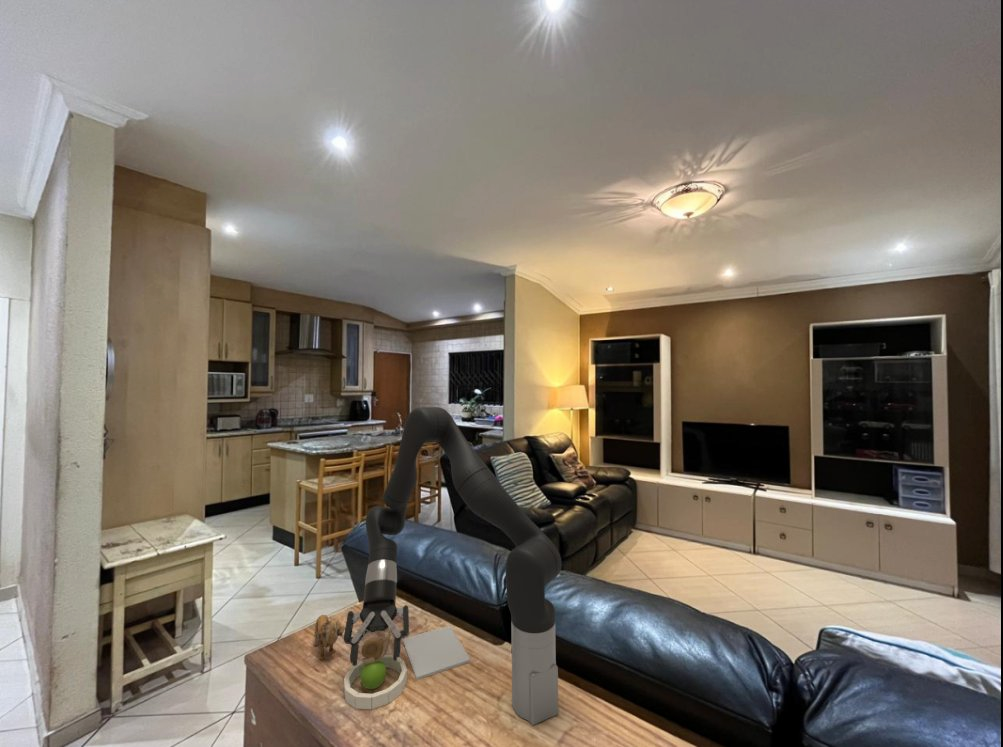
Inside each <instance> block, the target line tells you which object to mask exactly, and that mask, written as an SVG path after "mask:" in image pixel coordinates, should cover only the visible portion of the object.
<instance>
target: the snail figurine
mask: <svg viewBox="0 0 1003 747" xmlns="http://www.w3.org/2000/svg"><path fill="white" fill-rule="evenodd" d="M387 630H388V632H386V633H384V635H383V638H384V640H383V641H381V639H379V638H377V637H372V638H369V639H367V640H366V641H365V642H364V643H363V644H362V646H361V655H362V656H363V658H361V660H362V661H363V662H364V663H366V664H365V665H364V666H363V668H362V671H361V675H360V682H361V685H362V686H363V687H364V688H366V689H368V690H374V689H376V688H379V687H380V686H381V685H382V684H383V683H384V681H385V679H386V675H387V668H386V666H385V664H384V662H383V661H382V660H380V659H381V658H382V657H384V655H385V654H387V652H388V647H389V644H390V640H391V636H392V635H391V634H392V633H391V632H390V630H391V629H390V627H388V628H387Z"/></svg>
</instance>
